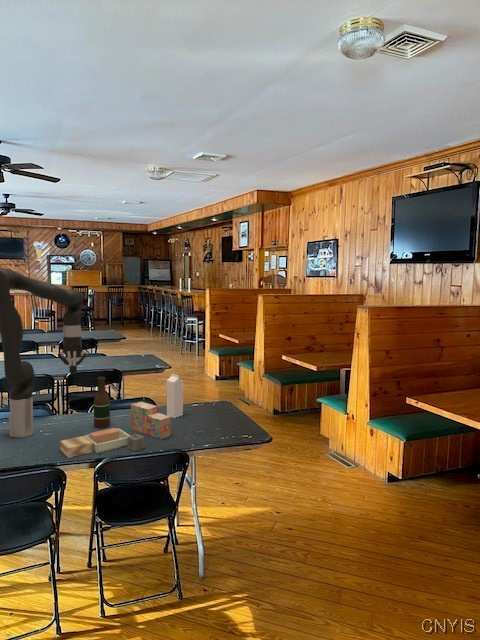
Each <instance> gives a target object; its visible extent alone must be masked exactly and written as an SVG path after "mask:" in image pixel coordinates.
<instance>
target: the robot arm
mask: <svg viewBox="0 0 480 640" xmlns="http://www.w3.org/2000/svg"><path fill="white" fill-rule="evenodd" d="M12 289H13V290H21V291H25V292H28V293H30V294H33V295H34V296H37V297H39V298H41V299H45V300H48V301H53V302H55V303H56V304H58V305H61V306H65V307H66V311H65V312H64V313H63V316H62V317H63V329H62V336H63V337H62V340H63V341H62V344H63V347H62V350H61V352H58V353H57V357H58V358H59V359H60V361H62V362H63V364H64V365H66V366H68V367H69V374H71V375H75V374H76V373H77V371H78V368H77V367H78V365H80V364H82V362H83V361H84V359H85V358H86V357H87V356H88V354H89V353H88V352H86V351H84V348H83V346H82V343H83V342H82V328H81V327H82V326H81V325H82V324H81V321H82V320H81V314H82V309H83V304H84V303H83V301H84V299H83V294H82V293H81V291H79V290H78V289H65V288H61V287H60V286H59V285H57V284H53V283H49V282H45V281H42V280H38V279H34V278H32V277H28V276H26V275H24V274H22V273H20V272H17V271H15V270H13V269H10V268H2V267H1V268H0V339H1V343H2V351H3V352H2V353H3V364H4V365H3V366H4V376H5V379H6V380H7V382H8V383H9V384H11V385H13V387H12V389H11V390H10V391H9V410H10V412H9V413H10V414H9V416H8V428H9V429H8V432H9V433H8V434H9V437H13V438H16V439H17V438H25V437H26V438H27V437H30V436H32V435H33V434H34V413H33V412H34V407H33V405H34V404H33V401H34V400H33V393H34V392H33V391H34V390H35V371H34V367H33V365H32V364H31V363H30V362H29V361H26V360H22V359H21V346H22V343H23V337H24V327H23V322H22V317H21V315H20V312H19V311H18V309H17V308H16V306H15V304H14V302H13V300H12V297H11V292H10V291H11V290H12ZM80 355H81V358H80V359H79V360H78V358H79V357H80Z"/></svg>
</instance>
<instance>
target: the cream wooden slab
mask: <svg viewBox="0 0 480 640" xmlns="http://www.w3.org/2000/svg"><path fill="white" fill-rule="evenodd" d="M59 447H60V449H59V450H60V451H61V452H62V454H64V455H65V456H66V457H67V458H68V459H70V458H74V456H75V457H78V456H82V455H86V454H90V453H91V454H92V453H94V451H93V443H92V442H91V441H90V440H88V439H87V438H86V437H85V436H84V435H83V436H82V435H81V436H77V437H72V438H68V439H63V440H59Z"/></svg>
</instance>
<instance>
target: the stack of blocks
mask: <svg viewBox="0 0 480 640" xmlns="http://www.w3.org/2000/svg"><path fill="white" fill-rule="evenodd" d="M130 417H131V418H130V420H131V422H130V424H131V425H130V426H131V430H133V431H136V432H139V433H141V434H144V435H147V436H149V437H152V438H155V439H158V440H164V439H165V438H169V437H171V423H172V422H171V418H172V417H170V416H167V414H163V413H159V412H158V406H157V405H154V404H151V403H148V402H147V403H146V402H144V401H138V402H135V403H131V404H130Z"/></svg>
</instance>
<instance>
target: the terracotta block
mask: <svg viewBox="0 0 480 640" xmlns="http://www.w3.org/2000/svg"><path fill="white" fill-rule="evenodd" d="M89 434H90V438H91V439H92V440H93V441H94V442H96V443H97V444H99V443H104V442H108V441H112V440H117V439H119V431H118V430H117V429H116V428H115V427H112V428H107V429H103V430H99V431H94V432H90V433H89Z"/></svg>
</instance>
